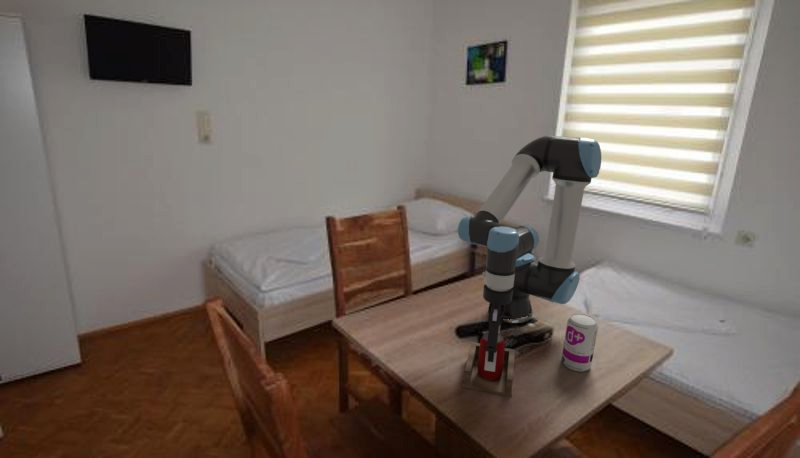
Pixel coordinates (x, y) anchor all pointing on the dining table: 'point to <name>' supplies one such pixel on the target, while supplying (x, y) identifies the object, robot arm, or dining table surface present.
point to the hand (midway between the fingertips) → (491, 356)
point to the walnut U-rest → (479, 383)
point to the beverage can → (499, 358)
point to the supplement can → (579, 342)
